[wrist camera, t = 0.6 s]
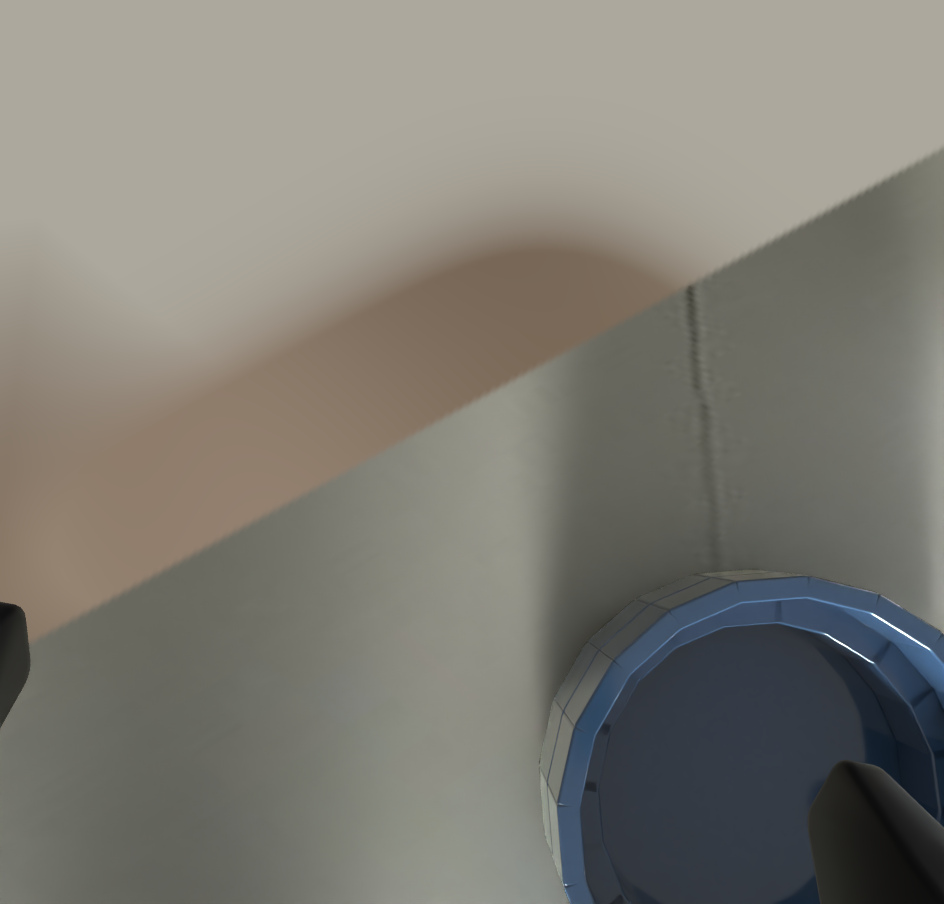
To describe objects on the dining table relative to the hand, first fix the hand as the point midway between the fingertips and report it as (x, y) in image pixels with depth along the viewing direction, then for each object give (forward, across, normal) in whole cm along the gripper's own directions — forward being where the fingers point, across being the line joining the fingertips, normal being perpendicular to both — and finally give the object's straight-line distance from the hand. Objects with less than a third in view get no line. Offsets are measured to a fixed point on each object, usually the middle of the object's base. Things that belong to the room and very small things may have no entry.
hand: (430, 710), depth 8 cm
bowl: (+10, -10, +11) cm, 18 cm away
